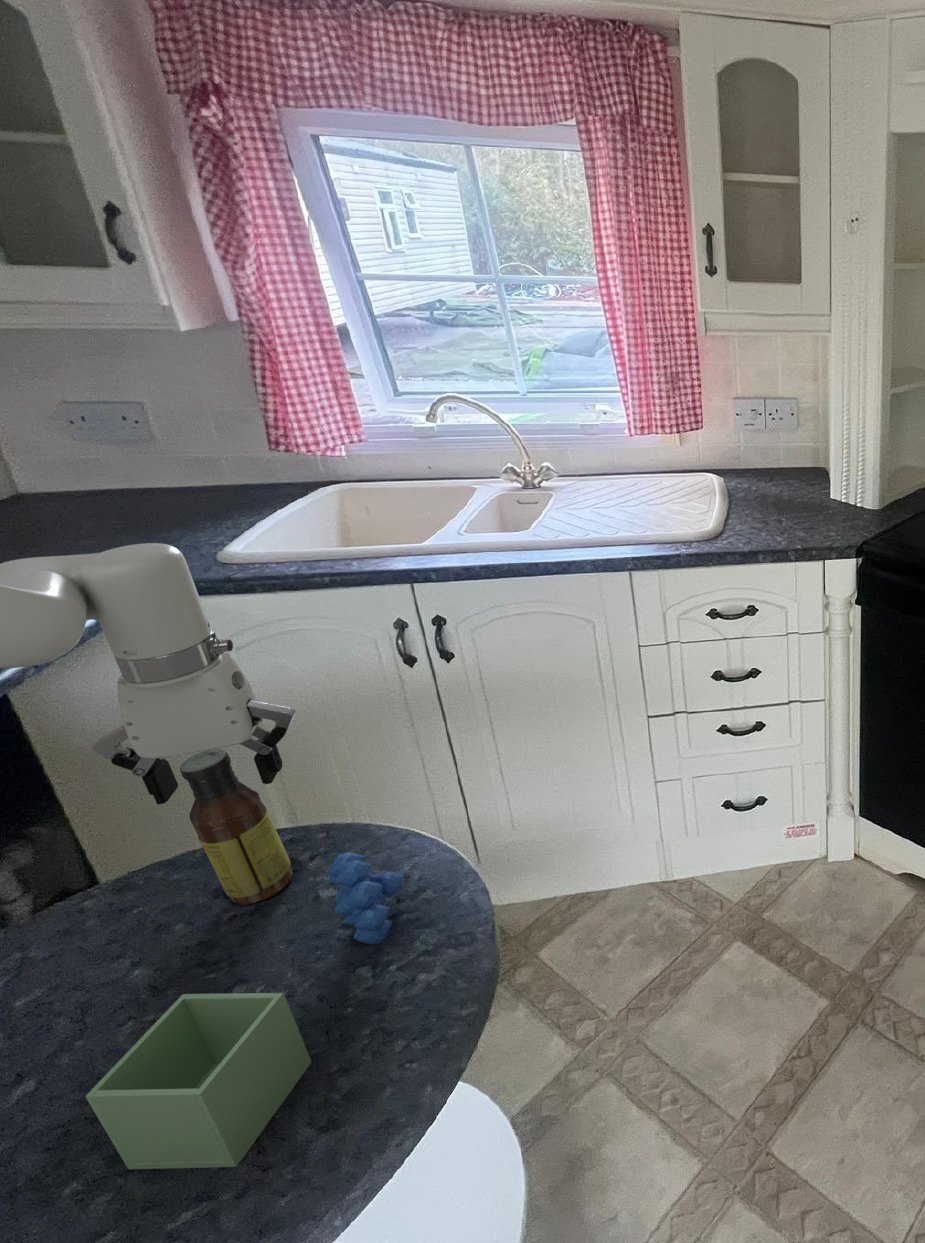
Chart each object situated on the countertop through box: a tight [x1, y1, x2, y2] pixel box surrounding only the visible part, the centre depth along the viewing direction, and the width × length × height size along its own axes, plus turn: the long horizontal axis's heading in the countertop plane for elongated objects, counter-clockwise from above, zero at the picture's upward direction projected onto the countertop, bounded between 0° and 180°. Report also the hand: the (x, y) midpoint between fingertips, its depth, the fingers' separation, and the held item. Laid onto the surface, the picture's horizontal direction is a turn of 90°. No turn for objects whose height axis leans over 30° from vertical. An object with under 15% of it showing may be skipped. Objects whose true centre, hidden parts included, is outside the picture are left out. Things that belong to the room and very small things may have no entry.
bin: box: [84, 992, 312, 1170], centre depth 67 cm, size 9×9×10 cm
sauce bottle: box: [179, 748, 294, 906], centre depth 89 cm, size 7×6×20 cm
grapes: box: [328, 851, 405, 945], centre depth 85 cm, size 12×7×12 cm, turn 51°
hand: (221, 785), depth 86 cm, fingers open, 9 cm apart
